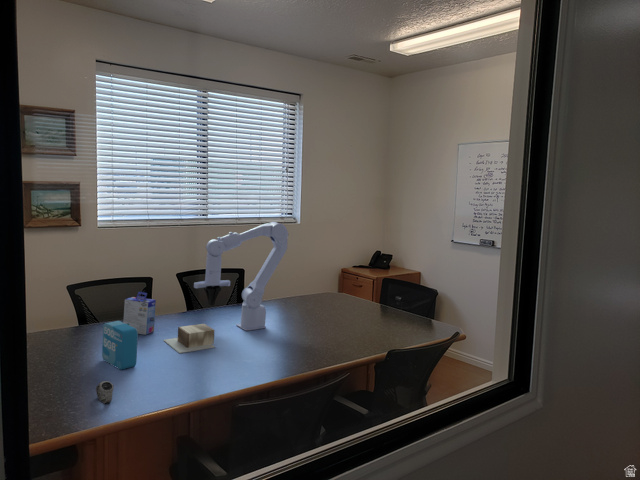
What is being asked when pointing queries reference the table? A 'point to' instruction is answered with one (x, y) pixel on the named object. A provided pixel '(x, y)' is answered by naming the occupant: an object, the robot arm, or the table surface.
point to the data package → (119, 344)
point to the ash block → (195, 335)
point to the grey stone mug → (105, 391)
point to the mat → (182, 348)
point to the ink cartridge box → (140, 313)
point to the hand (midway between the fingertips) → (211, 304)
